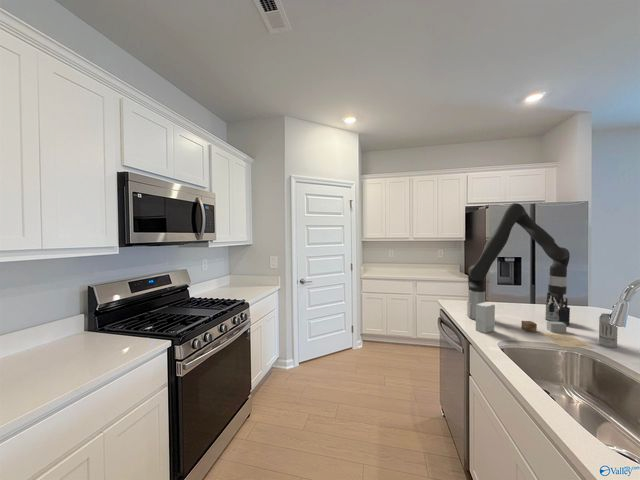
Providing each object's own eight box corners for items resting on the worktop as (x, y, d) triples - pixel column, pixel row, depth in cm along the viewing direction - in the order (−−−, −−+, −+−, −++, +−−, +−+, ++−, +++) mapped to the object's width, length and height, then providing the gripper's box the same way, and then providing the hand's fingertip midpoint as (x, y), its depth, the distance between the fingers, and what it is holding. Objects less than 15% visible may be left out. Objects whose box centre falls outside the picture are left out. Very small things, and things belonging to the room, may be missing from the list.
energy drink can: (597, 345, 132) (598, 314, 132) (600, 342, 136) (601, 312, 135) (615, 350, 128) (616, 317, 127) (618, 346, 131) (619, 315, 131)
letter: (560, 346, 132) (560, 345, 132) (539, 333, 149) (539, 332, 149) (595, 349, 129) (595, 348, 129) (569, 335, 146) (569, 334, 146)
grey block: (551, 332, 150) (551, 323, 150) (546, 330, 154) (546, 321, 154) (566, 333, 148) (566, 324, 148) (561, 331, 152) (561, 322, 152)
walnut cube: (525, 332, 150) (526, 323, 150) (521, 329, 155) (521, 320, 155) (536, 333, 149) (536, 324, 149) (531, 330, 154) (531, 321, 154)
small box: (570, 325, 161) (571, 307, 161) (559, 325, 161) (559, 307, 161) (555, 319, 172) (555, 302, 171) (544, 319, 172) (545, 302, 171)
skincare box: (484, 327, 158) (484, 301, 157) (495, 331, 152) (495, 304, 152) (474, 330, 154) (475, 303, 154) (485, 333, 149) (485, 306, 148)
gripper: (542, 281, 157) (540, 310, 158) (557, 286, 144) (555, 317, 144) (557, 282, 156) (556, 311, 156) (574, 287, 142) (572, 319, 142)
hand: (555, 314), depth 150 cm, fingers open, 8 cm apart
